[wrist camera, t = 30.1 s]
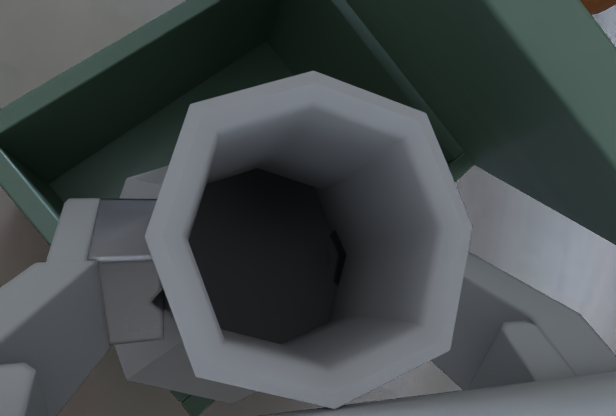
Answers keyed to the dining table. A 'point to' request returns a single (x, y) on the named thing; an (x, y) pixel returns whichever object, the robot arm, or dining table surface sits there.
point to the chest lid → (516, 92)
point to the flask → (300, 245)
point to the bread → (597, 5)
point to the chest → (180, 98)
